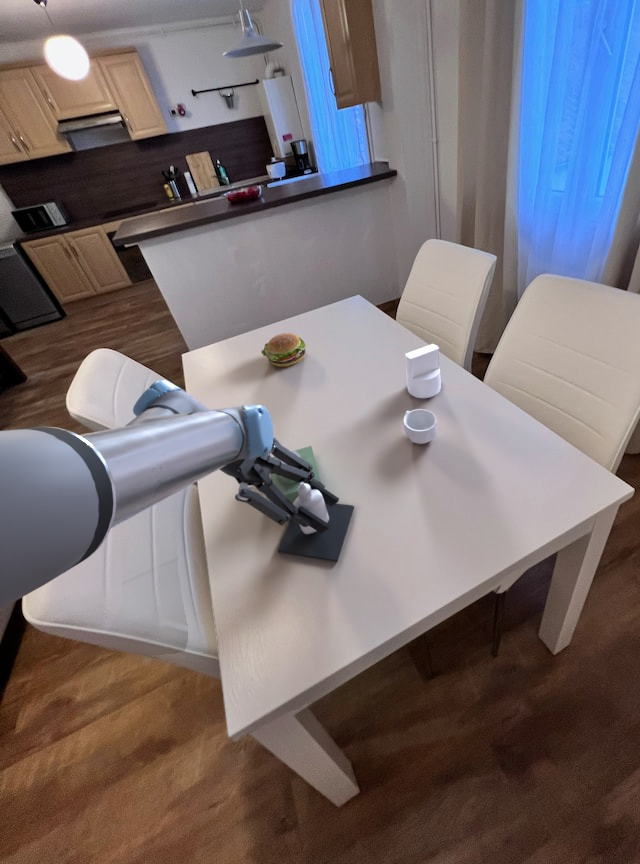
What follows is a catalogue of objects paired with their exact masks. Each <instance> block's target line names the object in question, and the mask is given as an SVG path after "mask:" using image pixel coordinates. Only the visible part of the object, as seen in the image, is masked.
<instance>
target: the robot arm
mask: <svg viewBox="0 0 640 864" xmlns="http://www.w3.org/2000/svg"><path fill="white" fill-rule="evenodd" d="M132 413H133V415H134V416H136V417H134V418H133V419H132V420H131V421H129V422H128V423H127V424H125V425H124V426H120V427H114V428H109V429H104V430H98V431H92V432H88V433H81V434H77V433H76V432H74V431H70V430H68V429H65V428H61V427H57V426H34V427H33V426H32V427H26V428H20V429H9V430H8V429H7V430H0V610H2V609H4V608H5V607H7V606H9V605H11V604H13V603H15V602H16V601H18V600H20V599H22V598H23V597H25V596H28V595H29V594H31V593H33V592H34V591H36V590H38V589H40V588H41V587H44V586H45V585H46V584H49V583H50V582H51V581H53V580H54V579H56V578H58V577H59V576H61V575H63V574H65V573H66V572H68V571H70V570H71V569H73V568H74V567H76V566H77V565H79V564H81V563H83V562H84V561H86V560H87V559H89V558H90V557H91V556H92V555H93V554H95V553H96V552H97V551H98V550H99V548H100V547H102V545H103V543H104V542H105V540H107V537H108V536H109V533H110V532H111V529H113V528H115V527H116V526H119V525H120V524H122V523H124V522H125V521H127V520H129V519H132V518H133V517H135V516H136V515H139V514H141V513H142V512H143V511H146V510H147V509H149V508H151V507H153V506H155V505H157V504H159V503H161V502H162V501H164V500H166V499H168V498H169V497H171V496H173V495H175V494H177V493H178V492H180V491H182V490H184V489H186V488H187V487H190V486H191V485H193V484H195V483H197V482H199V481H201V480H202V479H204V478H206V477H208V476H209V475H212V474H213V473H215V472H216V471H218V470H219V471H221V472H222V473H224V474H225V475H228V476H230V477H233V478H234V479H235V480H236V482H237V483H238V485H239V487H238V490H237V491H238V492H237V494H235V496H234V497H235V498H234V499H235V500H236V501H237V502H241V503H245V504H248V506H251V507H252V508H254V509H255V510H257V511H259V513H261V514H263V515H264V516H266V517H267V518H268V519H270V520H272V521H274V522H275V523H276V524H277V525H279V526H284V525H285V524H288V523H289V522H290V520H291V519H292V520H294V521H295V522H297V523H298V524H300V525H301V526H303V527H307V526H310V527H312V528H313V529H315V530H316V531H318V532H319V533H323V532H324V531H326V530H328V529H329V527H330V525H329V524H328V523H326V522H325V521H323V520H322V519H320V518H319V517H317V516H316V515H314V514H313V513H311V512H309V511H308V510H306V509H305V508H303V507H302V506H300V507H299V508H298V509H297V508H296V507H295V506H294V505H293V504H292V503H291V501H290V500H289V499H288V498H287V497H286V496H285V495H284V494H283V493H282V492H281V491H280V490H279V489H278V488H277V487H276V486H275V485H274V484H273V480H272V479H271V474H277V475H280V476H282V477H285V478H288V479H290V480H293V481H296V482H299V483H301V482H304V483H306V484H309V485H310V487H311V490H319V491H320V493H321V494H322V496H323V499H324V502H325V504H327V505H328V506H330V507H331V506H333V505H334V504H338V502H340V498H339V496H338V497H337V496H336V495H335V494H334V493H332V492H330V491H329V490H328V489H326V485H325V484H324V483H322V481H321V482H319V481H318V480H316V479H315V478H313V477H314V476H315V474H314V473H313V472H311V471H312V469H313V466H312V465H311V464H309V463H308V462H306V461H305V460H303V459H302V458H300V457H298V456H297V455H295V454H294V453H292V452H291V451H292V450H290V449H288V448H287V447H285V446H284V445H283V444H282V443H280V441H279V440H278V439H277V438H276V437H274V426H273V420H272V416H271V414H270V412H269V410H268V408H266V406H264V405H263V404H252V405H247V404H243V405H240V406H231V407H224V408H223V407H222V408H217V409H216V408H215V409H211V408H209V407H207V406H206V405H205V404H203V403H201V402H200V401H199V400H198V399H196V398H195V397H193V396H192V395H191V394H189V393H187V391H185V389H182V388H181V387H179V386H177V385H175V384H174V383H172V382H170V381H168V380H166V379H158V380H156V381H154V382H153V383H152V384H151V385H150V386H149V387H148V388H147V389H146V390H145V391H144V392H143V393H142V394H141V396H140V397H138V399H137V401H136V402H135V404H134V405H133V408H132ZM271 455H272V456H273V457H276V458H278V459H279V460H278V459H275V458H273V457H272V456H271ZM280 460H281V461H282V462H284V463H286V464H284V463H282V462H281V461H280ZM250 486H254V488H255V489H256V490H257V491H258V492H257V491H254V490H253V488H252V487H250ZM259 492H260V493H262V494H263V495H264V496H265V497H264V496H263V495H262V494H260V493H259Z"/></svg>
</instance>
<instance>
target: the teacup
mask: <svg viewBox="0 0 640 864" xmlns="http://www.w3.org/2000/svg"><path fill="white" fill-rule="evenodd" d="M402 423H403V430H404V434H405V436H406V437H407V439H408V440H409V441H411V442H412V443H415V444H417V445H422V444H424V445H425V444H427V443H429V442H431V441H432V440H433V439H434V438H435V436H436V433H437V428H438V419H437V416H436V415H435V414H434V413H433V412H432V411H430V410H428V409H423V408H417V409H413V410H406V411H405V415H404V417H403V422H402Z"/></svg>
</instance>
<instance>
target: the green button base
mask: <svg viewBox="0 0 640 864" xmlns="http://www.w3.org/2000/svg"><path fill="white" fill-rule="evenodd" d="M293 451H294V452H297V453H299V455H300V457H301V458H302V459H303V460H305V461H306V462H308V463H309V464H311V465H312V466H313V469H312V471H311V472H313V473H314V474H315V476H314V477H313V478H315V479H316V480H318V481H319V482H321V483H322V478H321V475H320V472H319V468H318V465H317V461H316V457H315V453H314V450H313V447H312V445H308V446H305V447H302V448H299V449H296V450H293ZM273 458H275V459H278V458H276V457H275V456H273ZM278 460H279V459H278ZM270 478H271V479H272V480H273V484H274V485H275V486H276V487H277V488H278V489H279V490H280V491H281V492H282V493H283V494H284V495H285V496H286V497H287V498H288V499H289V500H290V501H291V503H292V504H293V503H294V501H295V500H296V499H297V498H298V496H299V495H298V492H297V488H298V487H299V486H300V483H299V482H296V481H293V480H290V479H288V478H285V477H282V476H280V475H277V474H270Z"/></svg>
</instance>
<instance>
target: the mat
mask: <svg viewBox="0 0 640 864" xmlns="http://www.w3.org/2000/svg"><path fill="white" fill-rule="evenodd" d="M325 505H326V509H327V512H328V516H329V521H328V522H327V523H328V524H329V525H330V527H329V529H328V530H326V531H324V532H323V533H319V532H318V531H316V532H314V533H311V534H305V533H303V531H302V529H301V527H300V525H299V524H298V523H297V522H295V521H294V520H292V519H291V520H290V521H288V523H287V527H286V529H285V531H284V533H283V536H282V538H281V540H280V543H279V545H278V547H277V549H276V552H277V553H280V554H287V555H293V556H297V557H304V558H309V559H310V558H311V559H316V560H323V561H329V562H334V563H338V562H339V558H340V555H341V552H342V548H343V545H344V541H345V539H346V535H347V532H348V528H349V525H350V522H351V519H352V515H353V512H354V508H355V505H350V504H344V503H343V504H341V503H336V504H334V505H333V506H331V507H330V506H328V505H327V504H325Z"/></svg>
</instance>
